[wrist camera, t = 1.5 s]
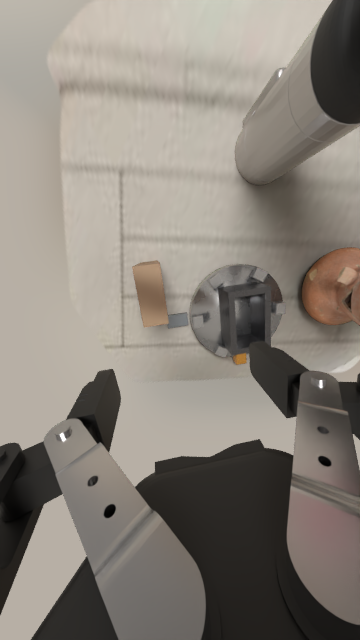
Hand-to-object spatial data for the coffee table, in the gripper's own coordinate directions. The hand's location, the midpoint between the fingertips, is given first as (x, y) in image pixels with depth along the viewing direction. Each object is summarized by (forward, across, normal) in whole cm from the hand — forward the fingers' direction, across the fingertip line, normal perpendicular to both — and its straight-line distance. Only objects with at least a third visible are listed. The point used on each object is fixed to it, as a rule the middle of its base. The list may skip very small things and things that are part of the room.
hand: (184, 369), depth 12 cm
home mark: (+28, -2, +6) cm, 29 cm away
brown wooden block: (+28, +2, -2) cm, 28 cm away
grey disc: (+28, -13, +6) cm, 32 cm away
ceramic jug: (+28, -33, +5) cm, 44 cm away
